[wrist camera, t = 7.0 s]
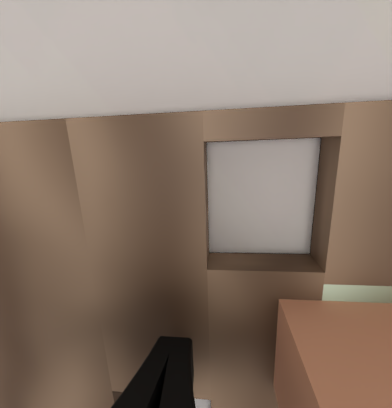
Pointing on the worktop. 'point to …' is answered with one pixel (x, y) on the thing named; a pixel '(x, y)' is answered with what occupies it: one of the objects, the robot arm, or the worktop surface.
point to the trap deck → (171, 249)
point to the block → (333, 354)
